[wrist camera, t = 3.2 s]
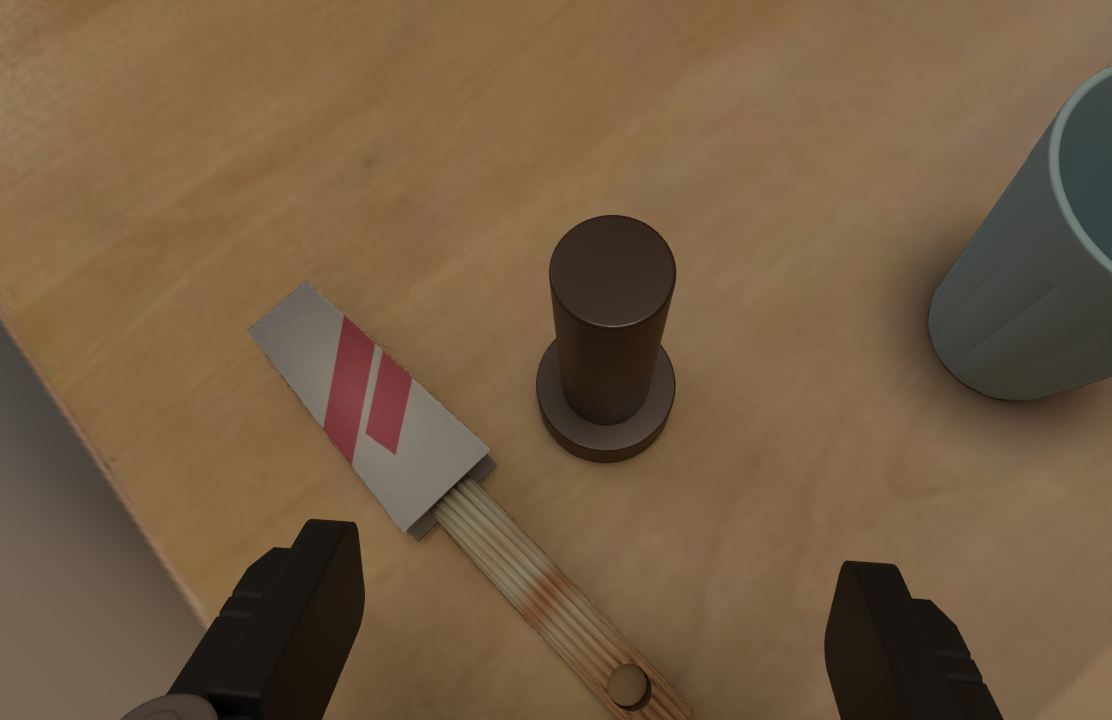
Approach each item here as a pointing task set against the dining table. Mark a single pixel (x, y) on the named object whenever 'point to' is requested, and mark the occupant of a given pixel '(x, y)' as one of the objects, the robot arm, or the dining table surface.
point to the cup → (1039, 266)
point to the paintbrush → (441, 483)
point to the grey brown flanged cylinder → (608, 340)
